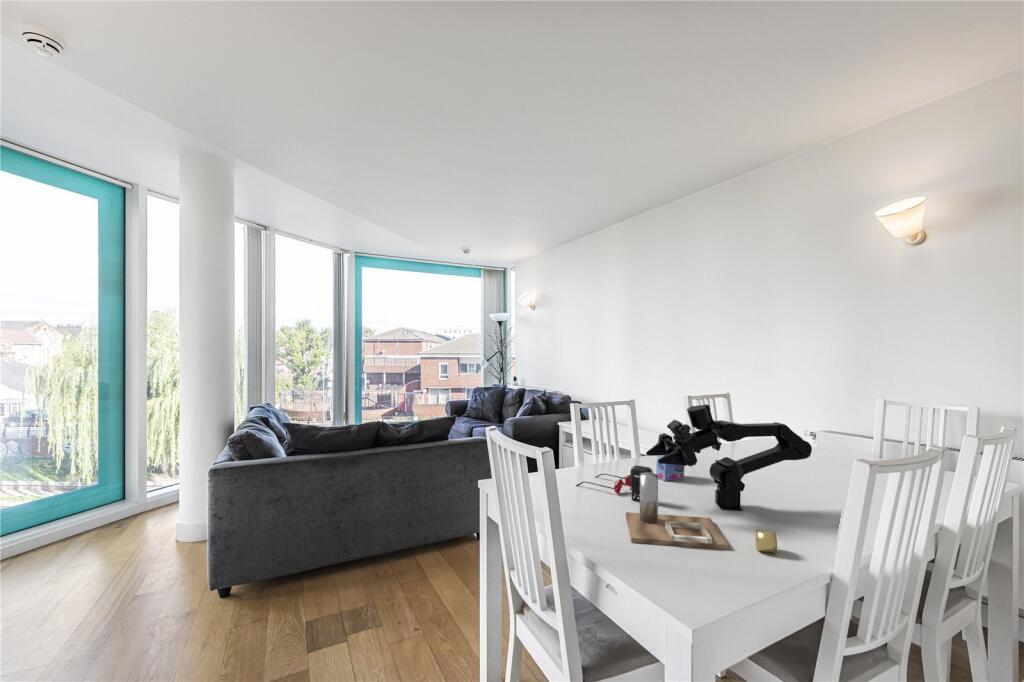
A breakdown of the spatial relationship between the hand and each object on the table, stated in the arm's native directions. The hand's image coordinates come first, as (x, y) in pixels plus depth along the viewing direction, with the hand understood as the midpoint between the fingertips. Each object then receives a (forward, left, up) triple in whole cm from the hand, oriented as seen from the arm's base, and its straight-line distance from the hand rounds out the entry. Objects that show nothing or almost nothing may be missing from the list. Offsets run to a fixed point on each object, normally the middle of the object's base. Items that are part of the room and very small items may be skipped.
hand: (652, 457), depth 144 cm
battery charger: (+3, -6, -16) cm, 18 cm away
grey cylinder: (+3, +13, -15) cm, 20 cm away
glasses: (+14, -20, -17) cm, 30 cm away
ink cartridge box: (-11, -34, -16) cm, 40 cm away
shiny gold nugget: (-23, +24, -14) cm, 36 cm away
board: (-3, +17, -16) cm, 23 cm away
